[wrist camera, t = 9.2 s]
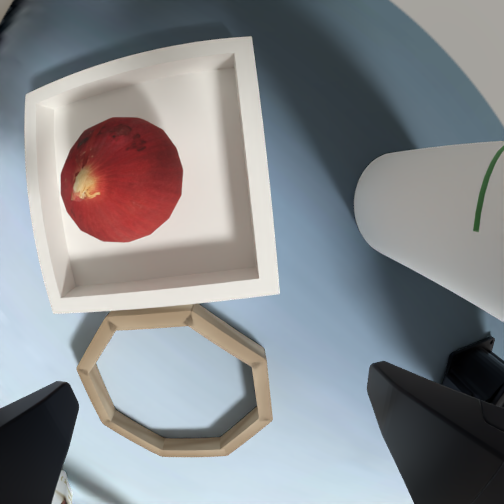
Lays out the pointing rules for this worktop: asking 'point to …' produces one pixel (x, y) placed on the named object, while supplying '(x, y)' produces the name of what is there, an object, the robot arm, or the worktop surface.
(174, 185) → the onion
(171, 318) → the ring collar
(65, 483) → the juice carton
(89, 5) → the worktop surface
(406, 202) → the cylindrical container
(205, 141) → the tray
